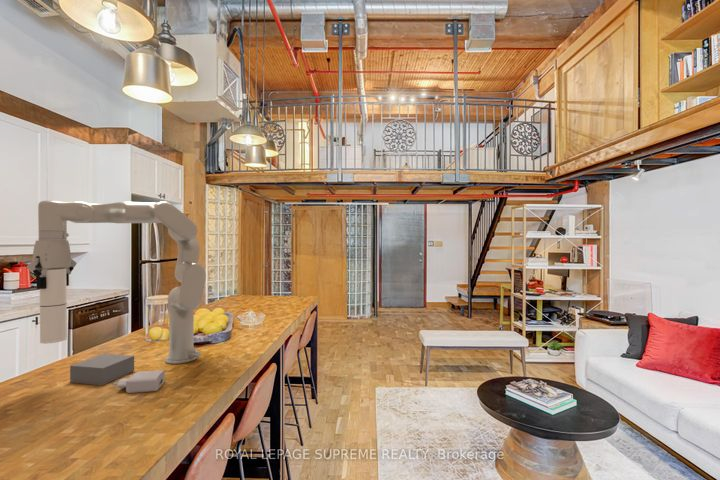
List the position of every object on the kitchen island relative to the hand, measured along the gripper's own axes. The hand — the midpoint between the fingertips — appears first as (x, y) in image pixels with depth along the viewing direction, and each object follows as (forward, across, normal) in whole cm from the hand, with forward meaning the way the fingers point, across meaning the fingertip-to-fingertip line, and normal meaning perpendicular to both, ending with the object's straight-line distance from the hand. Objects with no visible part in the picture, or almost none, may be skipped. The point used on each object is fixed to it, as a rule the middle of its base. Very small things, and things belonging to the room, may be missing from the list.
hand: (53, 286), depth 126 cm
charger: (+36, -5, +29) cm, 46 cm away
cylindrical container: (+19, 0, 0) cm, 19 cm away
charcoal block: (+36, -12, +8) cm, 38 cm away
